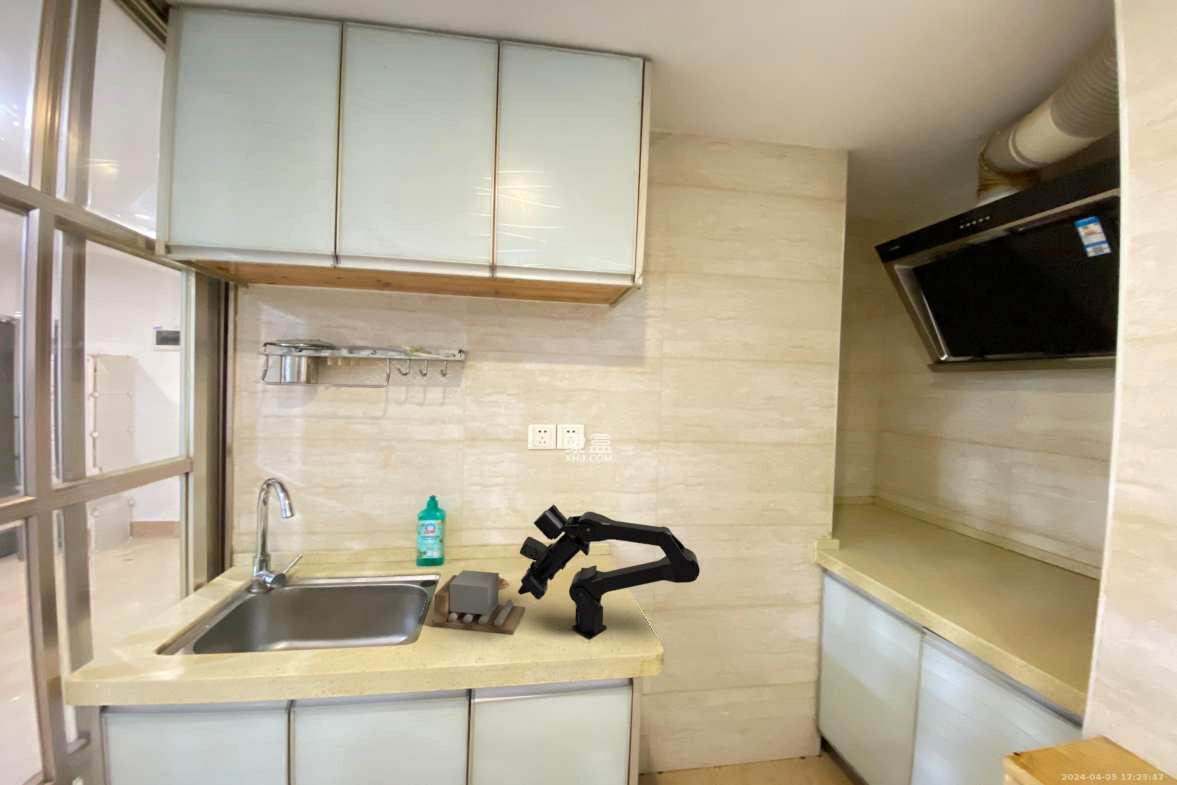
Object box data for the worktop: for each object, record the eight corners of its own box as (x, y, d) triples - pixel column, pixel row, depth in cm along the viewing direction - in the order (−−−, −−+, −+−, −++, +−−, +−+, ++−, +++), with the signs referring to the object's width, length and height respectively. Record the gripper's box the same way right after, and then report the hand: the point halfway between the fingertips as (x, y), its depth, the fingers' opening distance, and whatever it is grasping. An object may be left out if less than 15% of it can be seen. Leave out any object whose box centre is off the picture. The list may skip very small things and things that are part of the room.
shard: (480, 601, 124) (480, 594, 124) (464, 591, 129) (464, 585, 129) (510, 588, 132) (510, 582, 132) (495, 579, 137) (495, 574, 137)
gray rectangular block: (498, 598, 117) (498, 573, 117) (487, 614, 109) (488, 587, 109) (462, 595, 119) (462, 570, 118) (449, 611, 111) (449, 583, 110)
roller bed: (525, 611, 118) (525, 581, 118) (512, 634, 107) (513, 601, 107) (450, 604, 121) (451, 574, 120) (431, 626, 110) (431, 594, 110)
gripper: (547, 517, 120) (508, 554, 122) (529, 542, 102) (484, 586, 104) (576, 547, 120) (536, 584, 121) (563, 577, 101) (516, 621, 103)
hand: (519, 592), depth 112 cm, fingers closed
